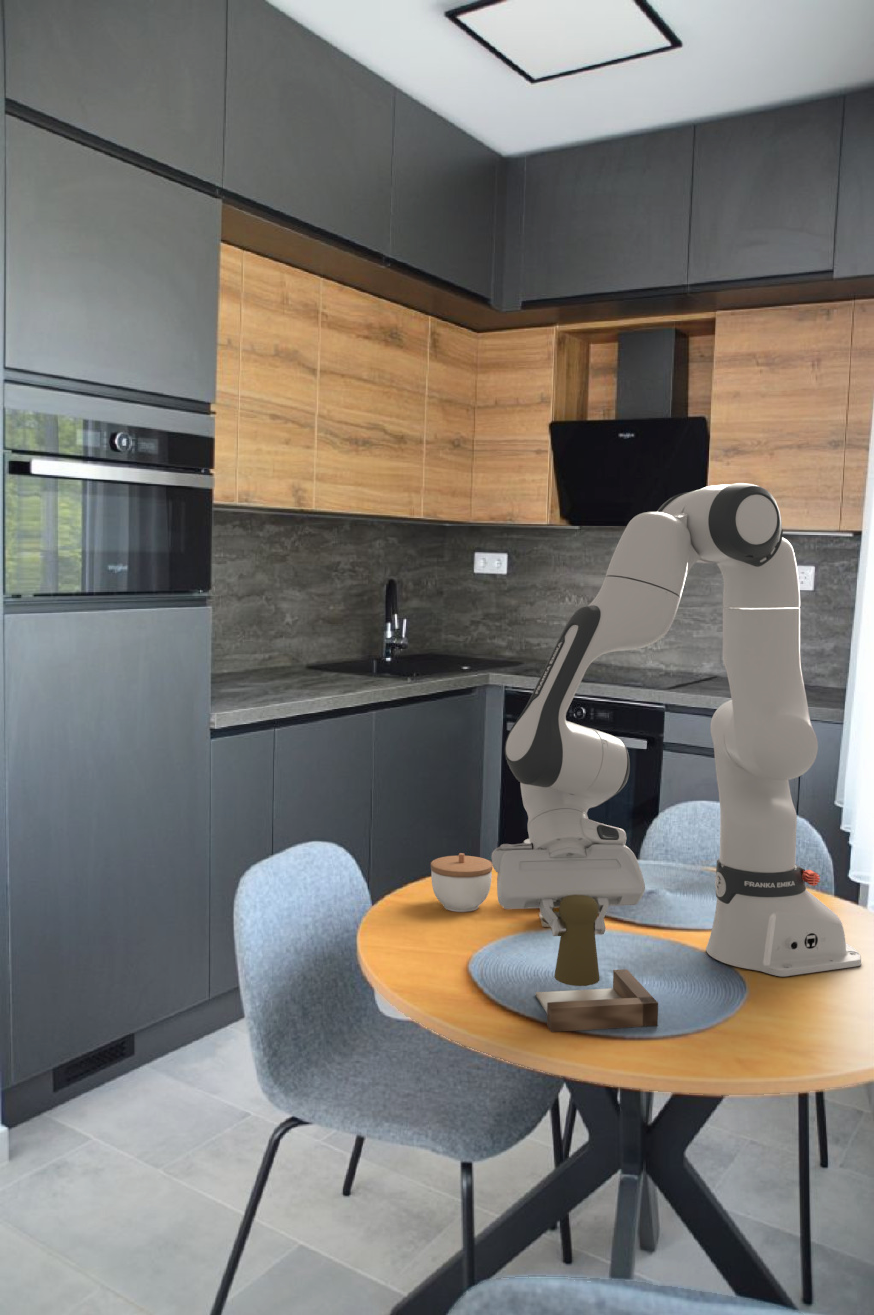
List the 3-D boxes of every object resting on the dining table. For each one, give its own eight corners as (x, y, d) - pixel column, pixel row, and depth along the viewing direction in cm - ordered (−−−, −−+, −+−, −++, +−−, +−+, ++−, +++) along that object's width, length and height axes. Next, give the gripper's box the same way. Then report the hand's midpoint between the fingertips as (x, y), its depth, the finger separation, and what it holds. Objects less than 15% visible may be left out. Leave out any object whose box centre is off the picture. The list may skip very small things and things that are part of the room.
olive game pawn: (602, 986, 140) (604, 904, 139) (556, 985, 140) (558, 903, 140) (596, 970, 146) (598, 891, 145) (552, 969, 146) (554, 890, 146)
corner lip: (626, 990, 148) (627, 969, 148) (657, 1025, 137) (658, 1003, 136) (528, 995, 146) (528, 974, 146) (551, 1032, 134) (551, 1008, 134)
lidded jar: (504, 908, 186) (505, 855, 185) (457, 920, 179) (458, 865, 178) (464, 894, 194) (465, 843, 193) (417, 905, 187) (418, 852, 186)
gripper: (493, 832, 147) (507, 925, 138) (635, 829, 150) (658, 920, 141) (486, 856, 152) (499, 947, 143) (624, 853, 155) (645, 941, 146)
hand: (579, 933), depth 142 cm, fingers closed on olive game pawn, 4 cm apart
